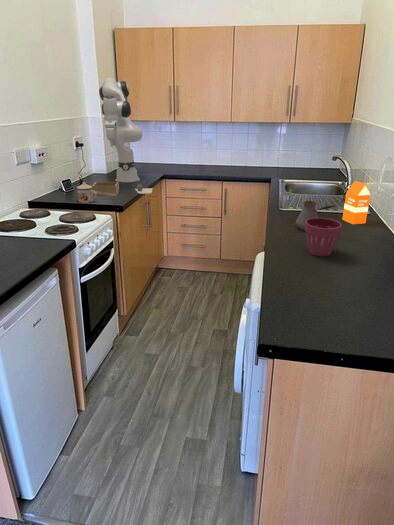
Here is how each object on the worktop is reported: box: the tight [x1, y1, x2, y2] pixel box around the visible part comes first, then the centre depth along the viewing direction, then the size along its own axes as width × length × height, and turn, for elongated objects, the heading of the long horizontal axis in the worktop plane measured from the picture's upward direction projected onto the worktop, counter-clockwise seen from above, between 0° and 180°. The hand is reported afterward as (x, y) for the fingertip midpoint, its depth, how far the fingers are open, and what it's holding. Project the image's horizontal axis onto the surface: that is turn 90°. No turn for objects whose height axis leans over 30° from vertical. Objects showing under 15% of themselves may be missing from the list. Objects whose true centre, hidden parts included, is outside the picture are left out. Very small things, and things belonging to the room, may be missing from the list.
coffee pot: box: [295, 200, 337, 231], centre depth 183 cm, size 21×12×15 cm, turn 27°
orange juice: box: [341, 180, 371, 225], centre depth 197 cm, size 8×9×20 cm
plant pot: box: [304, 217, 343, 257], centre depth 158 cm, size 14×14×13 cm
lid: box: [134, 183, 153, 195], centre depth 262 cm, size 14×16×5 cm
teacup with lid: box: [76, 182, 97, 204], centre depth 233 cm, size 12×9×12 cm
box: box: [91, 181, 120, 197], centre depth 252 cm, size 13×15×7 cm
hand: (113, 145), depth 254 cm, fingers open, 8 cm apart
